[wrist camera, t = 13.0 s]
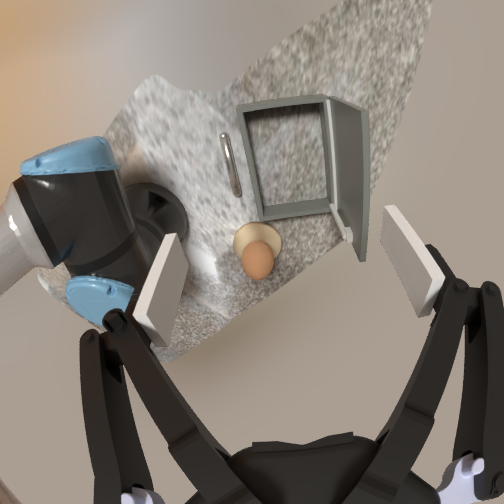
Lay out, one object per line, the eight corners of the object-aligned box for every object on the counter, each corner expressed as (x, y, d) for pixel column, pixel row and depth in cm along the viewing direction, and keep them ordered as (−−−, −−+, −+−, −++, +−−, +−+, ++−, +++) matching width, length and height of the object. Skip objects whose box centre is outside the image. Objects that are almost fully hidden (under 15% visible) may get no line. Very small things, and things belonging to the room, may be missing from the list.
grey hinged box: (259, 211, 49) (260, 276, 35) (237, 105, 37) (226, 127, 24) (336, 200, 47) (365, 261, 34) (327, 93, 35) (368, 111, 22)
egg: (246, 229, 50) (245, 259, 43) (277, 237, 50) (280, 267, 44) (238, 254, 53) (236, 285, 46) (267, 260, 54) (269, 291, 47)
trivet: (239, 263, 56) (238, 266, 55) (228, 225, 50) (228, 229, 50) (283, 257, 55) (284, 260, 54) (277, 218, 49) (278, 221, 48)
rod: (234, 195, 47) (233, 198, 46) (219, 132, 40) (217, 134, 39) (242, 193, 47) (241, 197, 46) (227, 130, 40) (226, 132, 39)
